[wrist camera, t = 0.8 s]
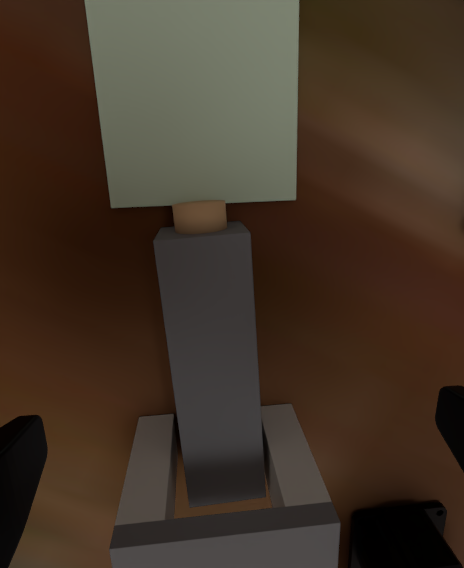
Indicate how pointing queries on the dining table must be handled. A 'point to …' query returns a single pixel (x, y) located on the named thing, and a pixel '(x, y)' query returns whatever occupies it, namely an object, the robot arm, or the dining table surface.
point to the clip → (229, 526)
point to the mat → (196, 99)
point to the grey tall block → (212, 351)
